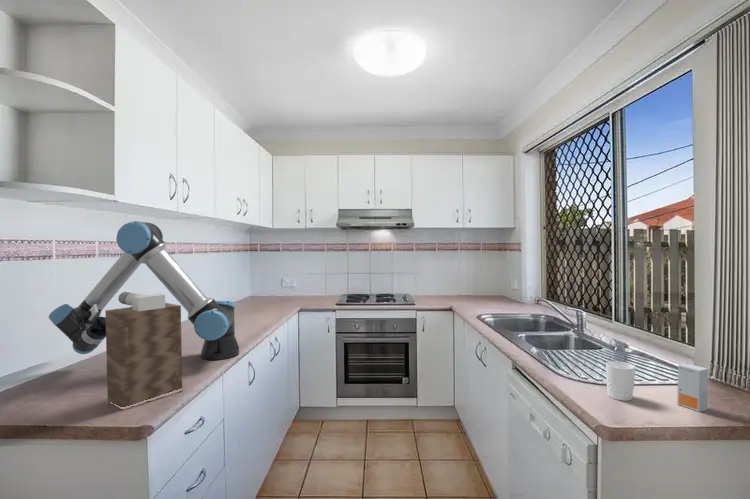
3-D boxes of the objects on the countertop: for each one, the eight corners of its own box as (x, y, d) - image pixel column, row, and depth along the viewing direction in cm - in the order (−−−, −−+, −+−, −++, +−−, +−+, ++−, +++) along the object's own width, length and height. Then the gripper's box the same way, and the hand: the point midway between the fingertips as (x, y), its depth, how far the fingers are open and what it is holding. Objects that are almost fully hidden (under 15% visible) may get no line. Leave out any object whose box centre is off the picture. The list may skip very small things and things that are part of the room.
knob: (111, 305, 136) (111, 293, 136) (137, 302, 142) (137, 290, 142) (138, 311, 125) (138, 298, 125) (165, 307, 132) (165, 294, 132)
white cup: (608, 390, 137) (608, 359, 136) (636, 396, 132) (637, 364, 131) (602, 397, 131) (603, 365, 130) (632, 403, 126) (633, 370, 125)
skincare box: (676, 404, 125) (677, 364, 124) (685, 402, 127) (686, 362, 126) (699, 412, 119) (700, 370, 119) (708, 410, 121) (709, 368, 121)
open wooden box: (166, 385, 143) (164, 302, 142) (182, 391, 137) (180, 305, 136) (107, 402, 128) (105, 310, 127) (122, 410, 122) (120, 314, 121)
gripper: (136, 333, 161) (159, 310, 149) (57, 347, 141) (78, 322, 129) (131, 315, 163) (154, 291, 151) (53, 326, 143) (72, 299, 131)
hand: (119, 305), depth 140 cm, fingers open, 13 cm apart
